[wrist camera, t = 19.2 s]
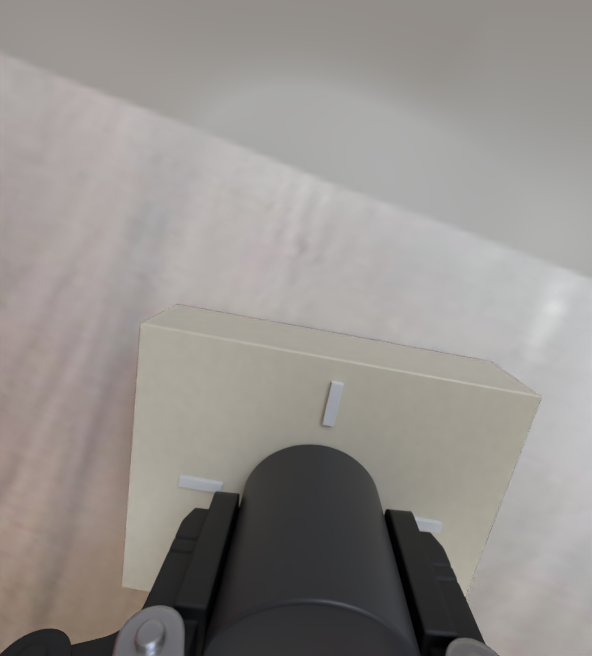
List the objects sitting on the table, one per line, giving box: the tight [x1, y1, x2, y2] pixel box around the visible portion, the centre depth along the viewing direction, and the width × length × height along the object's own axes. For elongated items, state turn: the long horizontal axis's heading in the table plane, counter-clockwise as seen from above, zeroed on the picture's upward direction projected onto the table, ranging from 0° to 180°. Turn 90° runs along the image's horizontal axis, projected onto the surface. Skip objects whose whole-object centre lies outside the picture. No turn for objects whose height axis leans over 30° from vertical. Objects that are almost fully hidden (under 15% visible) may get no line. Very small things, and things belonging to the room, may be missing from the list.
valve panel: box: [122, 304, 541, 596], centre depth 13 cm, size 10×12×3 cm
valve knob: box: [201, 444, 421, 656], centre depth 9 cm, size 4×4×5 cm
